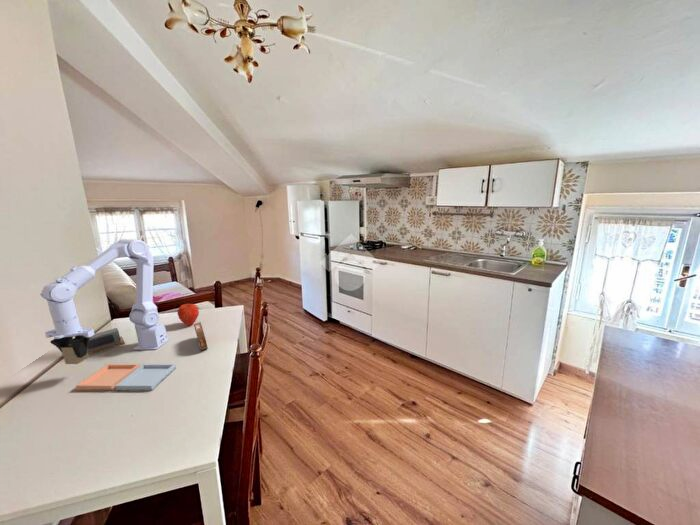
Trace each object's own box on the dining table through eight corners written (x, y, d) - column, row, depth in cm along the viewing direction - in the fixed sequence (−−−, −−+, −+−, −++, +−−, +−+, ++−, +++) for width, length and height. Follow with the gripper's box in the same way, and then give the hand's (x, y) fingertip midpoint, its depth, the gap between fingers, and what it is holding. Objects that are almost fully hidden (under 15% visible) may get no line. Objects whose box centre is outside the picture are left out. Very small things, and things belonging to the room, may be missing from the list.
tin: (208, 351, 108) (205, 332, 106) (199, 354, 106) (196, 334, 104) (204, 336, 120) (201, 318, 118) (196, 338, 119) (193, 320, 117)
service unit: (125, 343, 115) (121, 330, 114) (79, 358, 106) (75, 344, 104) (122, 338, 120) (119, 325, 119) (77, 351, 110) (74, 338, 109)
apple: (203, 320, 136) (200, 300, 133) (195, 328, 127) (191, 307, 125) (185, 321, 135) (182, 301, 133) (176, 329, 127) (172, 307, 125)
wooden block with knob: (89, 357, 94) (84, 339, 93) (77, 363, 90) (72, 345, 89) (77, 357, 94) (72, 339, 93) (65, 364, 91) (60, 345, 89)
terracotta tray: (140, 368, 98) (139, 363, 98) (112, 390, 87) (110, 385, 86) (109, 368, 98) (108, 364, 98) (77, 390, 87) (75, 385, 87)
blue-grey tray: (176, 368, 97) (175, 363, 97) (152, 390, 86) (151, 385, 86) (144, 368, 98) (143, 363, 98) (116, 390, 87) (115, 385, 86)
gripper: (29, 324, 85) (42, 362, 89) (74, 323, 85) (85, 362, 88) (54, 314, 92) (65, 351, 95) (95, 314, 92) (105, 350, 95)
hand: (76, 355), depth 92 cm, fingers closed on wooden block with knob, 4 cm apart
